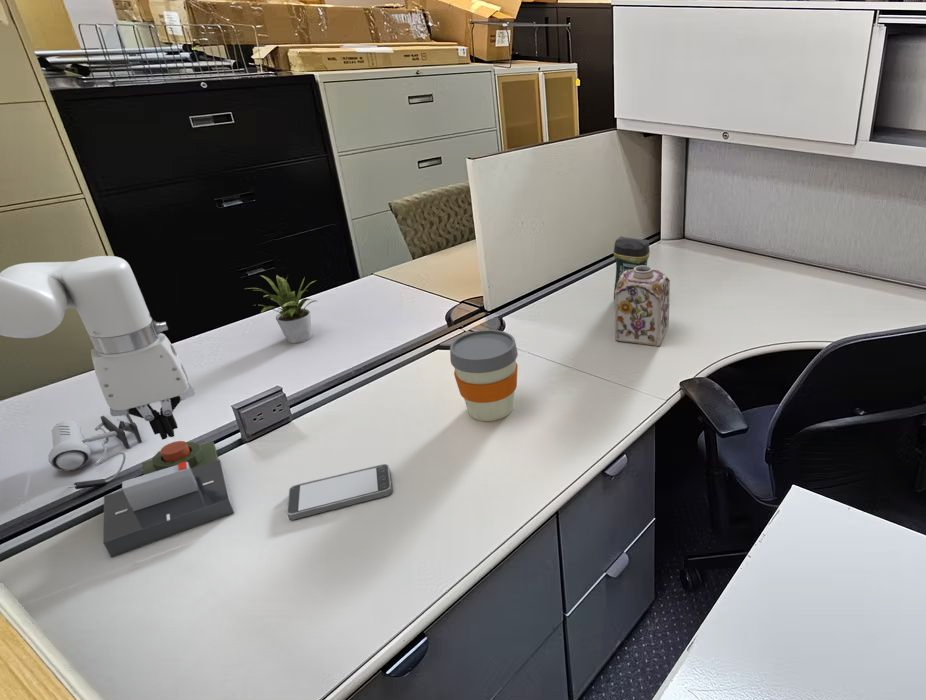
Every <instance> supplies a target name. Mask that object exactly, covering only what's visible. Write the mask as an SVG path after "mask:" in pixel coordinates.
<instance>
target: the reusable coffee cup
mask: <svg viewBox="0 0 926 700" xmlns="http://www.w3.org/2000/svg"><path fill="white" fill-rule="evenodd" d="M518 352H519V351H518V348H517V344H516V340H515V338H514V336H513V335H512V334H510V333H508V332H506V331H502V330H498V329H480V330H474V331H470V332H467V333H464V334H462V335H459V336H458V337H457V338H455V339H454V340H453V341H452V342H451V344H450V347H449V357H450V359H449V360H450V364H451V365H452V367H453V369H454V371H453V372H454V373H453V376H454V378H455V381H456V385H457V388H458V391H459V394H460V396H461V397H462V398H463V400H464V402H465V405H466V409H467V412H468V415H469V416H470V417H471V418H472V419H474V420H476V421H480V422H493V421H498V420H501V419H503V418H505V417H507V416H509V415H510V414H511V413H512V412H513V410H514V408H515V391H516V389H517V387H518V385H517V384H518V369H519V368H518V367H519V365H518V363H517V358H518V355H519V354H518Z"/></svg>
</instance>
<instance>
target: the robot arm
mask: <svg viewBox="0 0 926 700" xmlns="http://www.w3.org/2000/svg"><path fill="white" fill-rule="evenodd" d="M68 309H75V310H76V312H77V313H78V315H79V317H80V319H81V322H82V324H83V326H84V328H85V330H86V332H87V335H88V337H89V339H90V342H91V344H92V345H93V348H92V349H91V350H90V354H91V360H92V365H93V369H94V372H95V375H96V379H97V382H98V384H99V387H100V390H101V393H102V395H103V398H104V400H105V401H106V404H107V406H108V407H109V414H110V416H111V417H120V416H122V415H128V414H129V416H133V417H137V418H141V419H143V420H144V421H145V422H148V423H149V425H150V427H151V430H152V432H153V434H154V435H158V434H159V436H160V439H161V440H162V441H163V440H164V441H165V440H166V439H167V438H168V437H169V438H174V437H175V430H177V429H178V428H179V427H178V424H177V421H176V418H175V416H174V414H173V412H174V410H175V409H176V408H177V407H178V405H179V404H180V403H181V402H182V401H184V400H188V399H190V398H191V397H193V396H195V394H196V392H195V388H194V387H193V386H192V385H191V383H189V382H188V381H189V379H188V375H187V373H186V370H185V368H184V365H183V364H182V361H181V359H180V357H179V354H178V352H177V351H176V349H175V347H174V346H173V344H172V343H171V341H170V339H169V338H168V337H167V336H166V334H164V333H163V332H164V331H168V330H169V327H168V324H167V321H161V322H160V321H156V320H154V319H153V317H152V316H151V314H150V311H149V309H148V306H147V304H146V301H145V298H144V296H143V293H142V291H141V288H140V287H139V285H138V281H137V279H136V276H135V274H134V272H133V270H132V268H131V265H130V264H129V262H128V261H127V260H125V259H124V258H122V257H119V256H115V255H98V256H97V255H96V256H90V257H86V258H81V259H78V260H73V261H40V262H24V263H23V262H22V263H18V264H14V265H10V266H8V267H7V268H4V269H3V270H2V271H0V336H2V337H7V338H14V339H32V338H33V339H34V338H39V337H42V336H45V335H47V334H49V333H51V332H53V331H54V330H56V329H57V328H58V327H59V326H60V325H61V323H62V322H63V320H64V317H65V316H66V315H65V314H66V311H67V310H68ZM158 402H160V405H161V407H160V408H159V409H160V411H158V410H156V409H154V408H153V406H152V404H155V403H158Z"/></svg>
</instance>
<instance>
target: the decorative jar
mask: <svg viewBox="0 0 926 700" xmlns="http://www.w3.org/2000/svg"><path fill="white" fill-rule="evenodd" d="M670 283H671V280H670V278H669V277H668V276H667V275H666V274H665V273H663V272H662V271H660V270H659V269H655V268H653V267H652V266H651V265H647V266H645V265H641V266H636V267H635V268H634V269H631V270H627V271H624V272H623V273H622V274H621V275H620V278H619V280H618V283H617V286H616V290H615V301H614V340H615V341H616V342H622V343H623V342H624V343H632V344H639V345H646V346H655V347H659V346H660V345H661V343H662V341H663V339H664V337H665V336H666V333H667V331H668V328H669V323H670V321H669V320H670V294H671V293H670V292H671V291H670V290H671V289H670V286H671V284H670Z"/></svg>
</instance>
